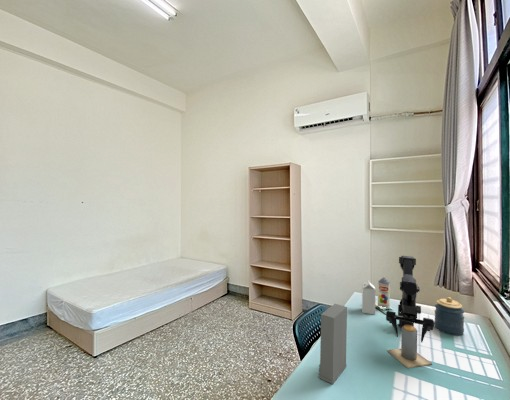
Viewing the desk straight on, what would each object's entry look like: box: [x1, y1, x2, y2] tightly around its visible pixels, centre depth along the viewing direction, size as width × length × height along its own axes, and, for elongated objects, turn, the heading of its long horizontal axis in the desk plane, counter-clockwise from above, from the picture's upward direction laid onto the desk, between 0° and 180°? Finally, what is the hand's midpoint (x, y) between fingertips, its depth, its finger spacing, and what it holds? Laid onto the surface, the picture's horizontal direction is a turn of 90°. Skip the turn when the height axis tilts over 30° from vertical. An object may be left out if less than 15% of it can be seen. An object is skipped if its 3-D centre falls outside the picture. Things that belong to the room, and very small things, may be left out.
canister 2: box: [434, 296, 465, 336], centre depth 142 cm, size 13×13×18 cm
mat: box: [387, 348, 433, 369], centre depth 116 cm, size 12×12×1 cm
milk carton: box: [361, 279, 377, 315], centre depth 164 cm, size 7×7×19 cm
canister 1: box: [400, 325, 418, 361], centre depth 116 cm, size 6×6×13 cm
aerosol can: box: [377, 276, 391, 309], centre depth 169 cm, size 7×7×20 cm
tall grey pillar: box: [317, 303, 348, 385], centre depth 106 cm, size 14×6×25 cm, turn 141°
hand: (409, 339), depth 115 cm, fingers open, 9 cm apart
